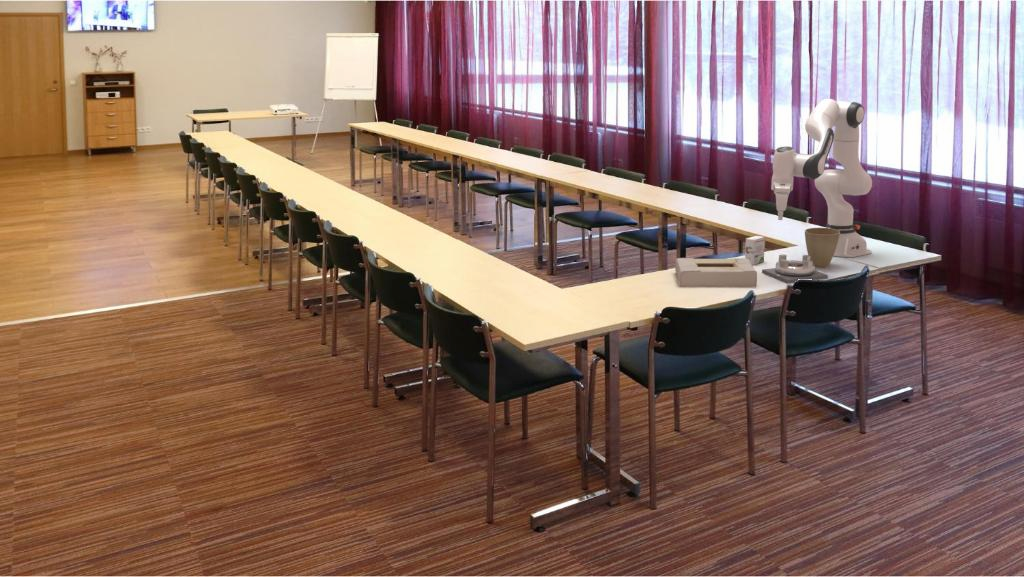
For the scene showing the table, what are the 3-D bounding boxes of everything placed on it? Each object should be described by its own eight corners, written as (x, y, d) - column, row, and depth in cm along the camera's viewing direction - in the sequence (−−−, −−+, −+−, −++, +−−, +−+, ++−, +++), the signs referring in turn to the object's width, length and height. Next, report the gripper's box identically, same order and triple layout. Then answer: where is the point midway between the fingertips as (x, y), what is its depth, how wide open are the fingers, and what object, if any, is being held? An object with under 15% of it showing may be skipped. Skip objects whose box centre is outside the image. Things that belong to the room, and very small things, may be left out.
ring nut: (799, 265, 419) (800, 252, 418) (822, 274, 404) (823, 260, 403) (767, 269, 414) (768, 255, 413) (789, 277, 400) (790, 263, 398)
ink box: (755, 260, 438) (756, 235, 435) (764, 262, 434) (765, 236, 431) (744, 263, 433) (745, 238, 430) (753, 265, 429) (754, 239, 426)
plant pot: (795, 264, 429) (797, 229, 425) (822, 260, 434) (825, 226, 430) (817, 271, 416) (819, 235, 412) (844, 268, 421) (847, 232, 417)
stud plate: (801, 268, 422) (801, 264, 421) (827, 278, 404) (828, 274, 404) (761, 272, 416) (762, 269, 415) (787, 283, 398) (787, 279, 398)
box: (748, 273, 417) (674, 273, 419) (749, 256, 415) (675, 256, 417) (757, 288, 395) (679, 288, 397) (758, 270, 393) (680, 270, 395)
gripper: (774, 182, 414) (772, 213, 417) (774, 188, 395) (772, 221, 398) (789, 182, 413) (787, 214, 416) (790, 189, 393) (788, 222, 397)
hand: (780, 218), depth 407 cm, fingers open, 8 cm apart
